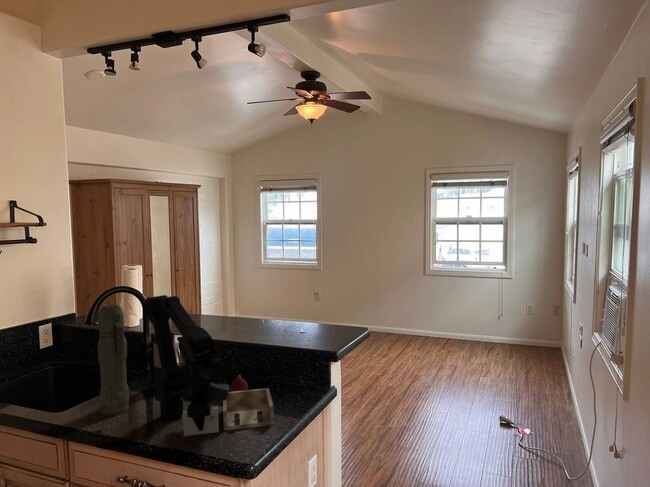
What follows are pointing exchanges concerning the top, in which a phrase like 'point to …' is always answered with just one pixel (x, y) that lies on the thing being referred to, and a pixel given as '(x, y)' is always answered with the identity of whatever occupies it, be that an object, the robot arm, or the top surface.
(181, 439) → the top surface
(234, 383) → the red oval fruit
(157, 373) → the travel mug
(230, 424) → the beige shallow square box
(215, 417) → the door
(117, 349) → the thermos
